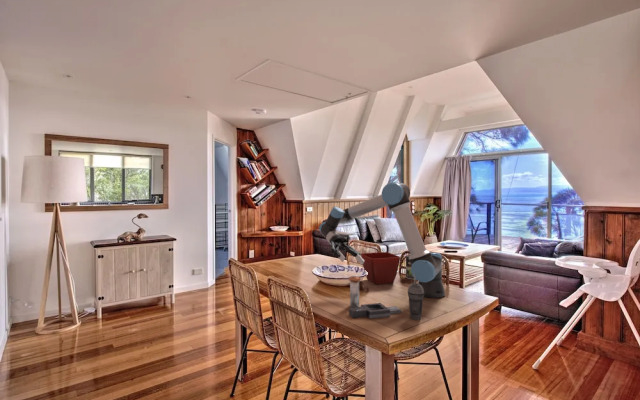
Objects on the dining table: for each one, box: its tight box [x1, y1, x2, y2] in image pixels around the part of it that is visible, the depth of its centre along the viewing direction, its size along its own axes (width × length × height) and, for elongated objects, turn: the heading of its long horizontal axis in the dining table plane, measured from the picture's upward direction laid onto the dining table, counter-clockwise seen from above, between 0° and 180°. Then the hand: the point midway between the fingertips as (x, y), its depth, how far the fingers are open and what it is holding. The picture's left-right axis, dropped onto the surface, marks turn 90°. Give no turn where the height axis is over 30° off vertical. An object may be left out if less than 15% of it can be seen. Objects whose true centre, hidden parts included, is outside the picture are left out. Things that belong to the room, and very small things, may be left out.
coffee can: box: [405, 254, 417, 281], centre depth 220 cm, size 10×10×14 cm
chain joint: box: [348, 302, 402, 319], centre depth 156 cm, size 24×10×3 cm, turn 106°
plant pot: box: [360, 251, 401, 285], centre depth 211 cm, size 19×19×17 cm
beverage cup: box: [407, 273, 425, 321], centre depth 150 cm, size 7×7×20 cm
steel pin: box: [348, 275, 361, 308], centre depth 166 cm, size 6×6×14 cm
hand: (353, 261), depth 177 cm, fingers open, 13 cm apart
